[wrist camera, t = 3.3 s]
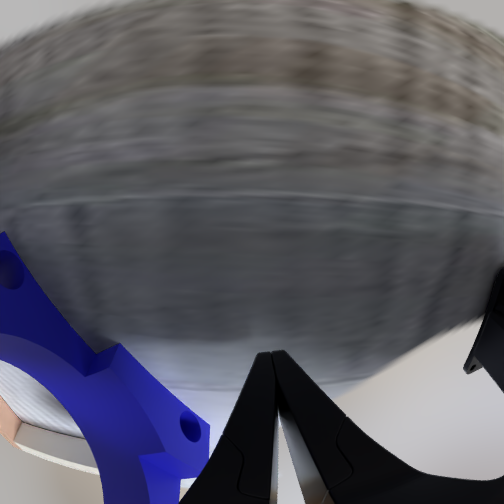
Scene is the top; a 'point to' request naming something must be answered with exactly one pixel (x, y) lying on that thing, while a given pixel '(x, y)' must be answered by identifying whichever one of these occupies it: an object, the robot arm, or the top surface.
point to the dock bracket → (46, 442)
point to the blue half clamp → (101, 395)
